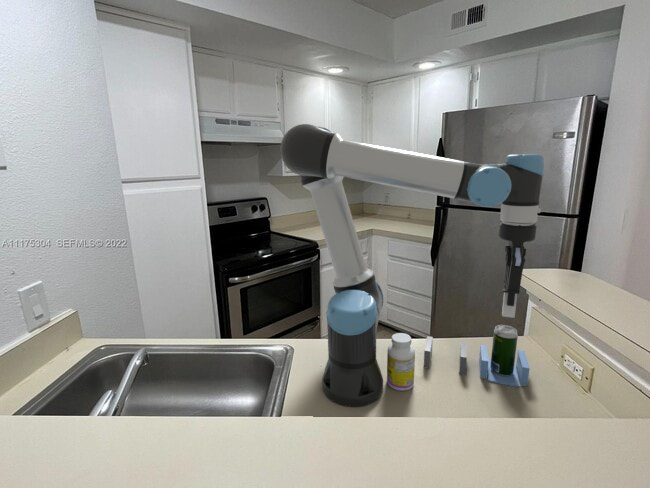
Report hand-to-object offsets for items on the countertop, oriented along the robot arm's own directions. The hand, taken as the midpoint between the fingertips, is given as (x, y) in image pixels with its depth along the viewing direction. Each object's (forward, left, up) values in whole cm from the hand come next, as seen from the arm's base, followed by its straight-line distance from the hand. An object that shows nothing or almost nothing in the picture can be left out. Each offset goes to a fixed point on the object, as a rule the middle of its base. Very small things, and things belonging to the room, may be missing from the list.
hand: (508, 315), depth 86 cm
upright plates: (-7, 0, -16) cm, 18 cm away
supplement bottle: (-24, -13, -16) cm, 32 cm away
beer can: (0, 0, -16) cm, 16 cm away
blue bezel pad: (0, 0, -16) cm, 16 cm away
